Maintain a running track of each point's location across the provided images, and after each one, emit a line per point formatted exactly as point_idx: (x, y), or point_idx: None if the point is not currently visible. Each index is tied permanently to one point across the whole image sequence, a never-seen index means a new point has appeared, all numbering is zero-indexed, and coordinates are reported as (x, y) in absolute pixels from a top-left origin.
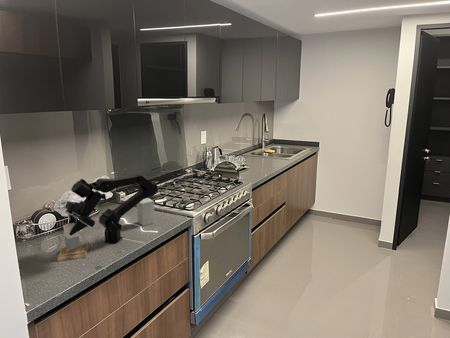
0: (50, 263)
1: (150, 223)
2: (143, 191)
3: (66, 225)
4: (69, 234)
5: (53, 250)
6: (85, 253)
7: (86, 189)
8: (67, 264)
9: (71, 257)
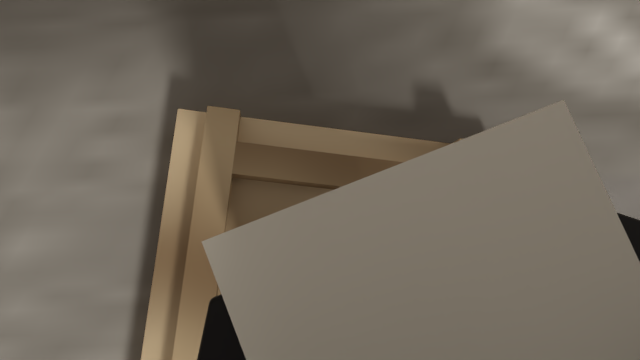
0: (151, 39)
1: None
2: None
3: (498, 215)
4: (221, 295)
5: (518, 59)
6: None
7: None
8: (18, 232)
9: (155, 279)
